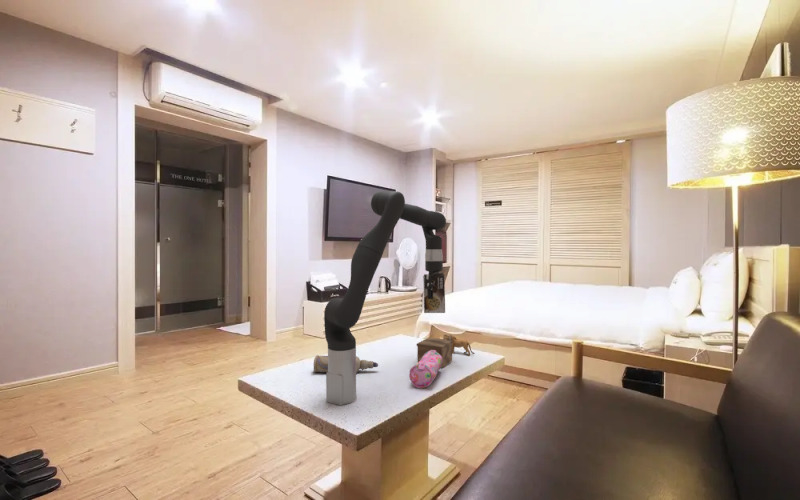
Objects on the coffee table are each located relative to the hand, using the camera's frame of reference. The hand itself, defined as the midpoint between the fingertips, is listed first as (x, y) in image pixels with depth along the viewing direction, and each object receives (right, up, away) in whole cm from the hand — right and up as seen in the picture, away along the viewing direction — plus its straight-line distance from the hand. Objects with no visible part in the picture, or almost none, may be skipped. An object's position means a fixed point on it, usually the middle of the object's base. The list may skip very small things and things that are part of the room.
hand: (434, 297), depth 160 cm
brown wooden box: (0, -28, 0) cm, 28 cm away
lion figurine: (+12, -28, +13) cm, 33 cm away
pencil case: (-5, -29, -19) cm, 35 cm away
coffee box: (0, -6, 0) cm, 6 cm away
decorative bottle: (-37, -29, -11) cm, 49 cm away
